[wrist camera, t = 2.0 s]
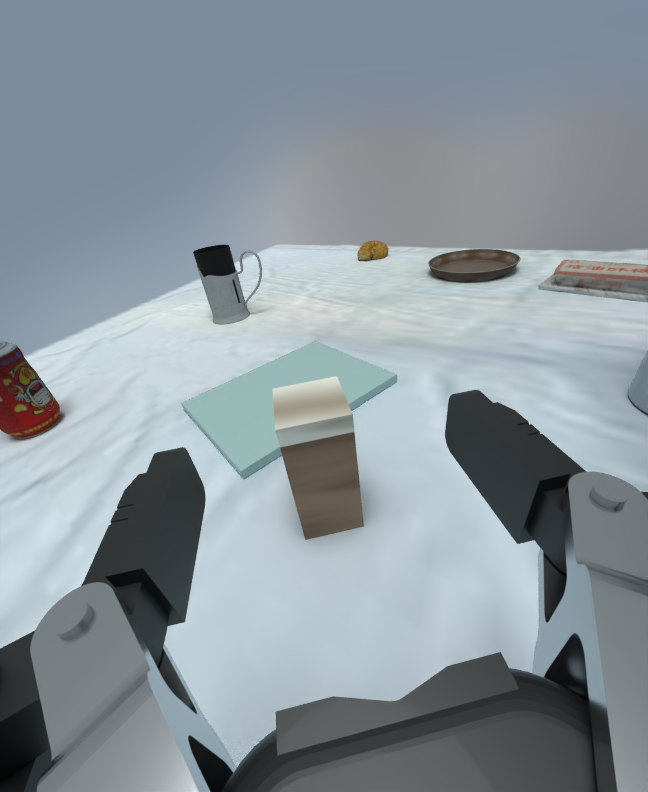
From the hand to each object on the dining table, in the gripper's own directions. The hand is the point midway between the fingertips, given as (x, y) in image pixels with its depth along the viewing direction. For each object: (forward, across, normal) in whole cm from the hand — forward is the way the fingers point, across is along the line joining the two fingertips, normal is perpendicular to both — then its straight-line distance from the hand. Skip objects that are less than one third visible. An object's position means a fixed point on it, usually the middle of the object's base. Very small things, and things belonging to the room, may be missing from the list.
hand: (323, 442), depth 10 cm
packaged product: (+47, -60, +18) cm, 79 cm away
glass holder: (+69, +10, +18) cm, 72 cm away
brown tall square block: (+12, 0, +18) cm, 21 cm away
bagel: (+105, -32, +17) cm, 111 cm away
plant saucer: (+71, -48, +17) cm, 88 cm away
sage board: (+31, +2, +18) cm, 36 cm away
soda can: (+37, +38, +18) cm, 56 cm away
